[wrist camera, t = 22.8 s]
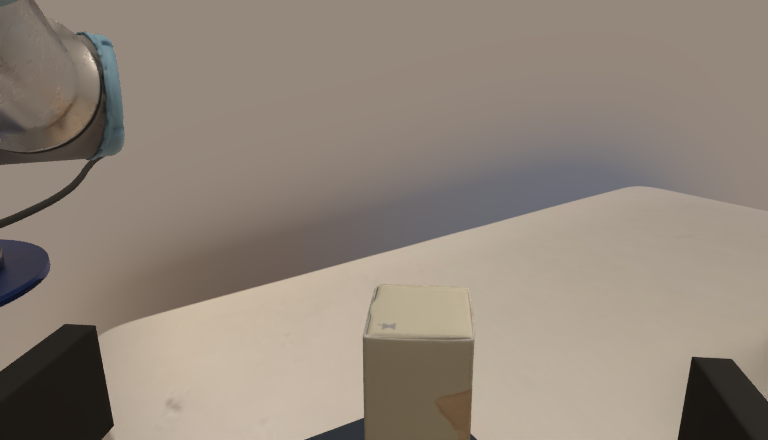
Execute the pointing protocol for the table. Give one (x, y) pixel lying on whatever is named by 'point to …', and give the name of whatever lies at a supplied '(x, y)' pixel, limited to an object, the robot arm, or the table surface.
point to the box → (418, 363)
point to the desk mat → (349, 432)
